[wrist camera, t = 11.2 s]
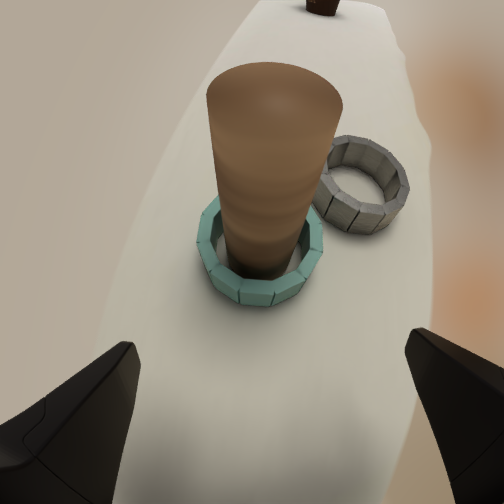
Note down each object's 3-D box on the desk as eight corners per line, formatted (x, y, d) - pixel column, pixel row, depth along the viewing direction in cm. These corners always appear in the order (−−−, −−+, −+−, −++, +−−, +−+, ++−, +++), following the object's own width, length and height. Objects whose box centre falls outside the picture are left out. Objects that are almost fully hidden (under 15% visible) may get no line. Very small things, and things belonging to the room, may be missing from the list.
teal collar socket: (312, 309, 18) (323, 297, 16) (197, 300, 18) (189, 287, 16) (311, 210, 21) (319, 187, 19) (212, 203, 22) (208, 179, 19)
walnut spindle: (297, 276, 19) (365, 132, 7) (233, 288, 19) (215, 145, 7) (281, 220, 21) (314, 61, 9) (222, 230, 21) (201, 68, 9)
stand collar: (399, 238, 21) (417, 219, 18) (310, 228, 21) (319, 207, 18) (384, 166, 24) (396, 145, 21) (307, 154, 24) (313, 129, 21)
